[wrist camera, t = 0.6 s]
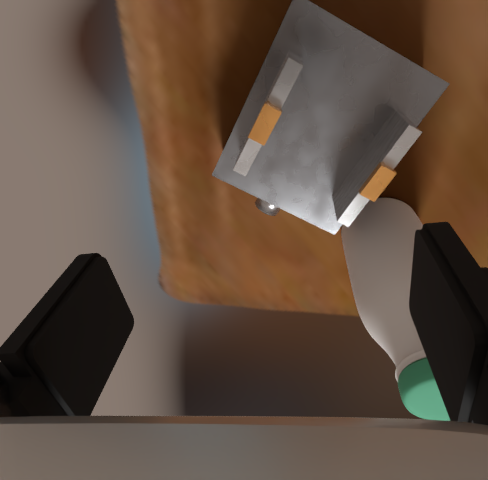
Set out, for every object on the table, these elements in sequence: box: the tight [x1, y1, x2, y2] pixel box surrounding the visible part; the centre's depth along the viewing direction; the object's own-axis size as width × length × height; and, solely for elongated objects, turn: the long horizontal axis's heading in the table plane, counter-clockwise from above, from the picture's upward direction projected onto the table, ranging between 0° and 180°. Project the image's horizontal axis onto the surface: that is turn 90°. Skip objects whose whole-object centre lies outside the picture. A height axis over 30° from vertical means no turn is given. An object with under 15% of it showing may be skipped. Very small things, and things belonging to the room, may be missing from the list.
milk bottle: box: [341, 197, 450, 421], centre depth 30 cm, size 8×8×20 cm
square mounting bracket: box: [212, 0, 449, 235], centre depth 29 cm, size 16×12×11 cm
